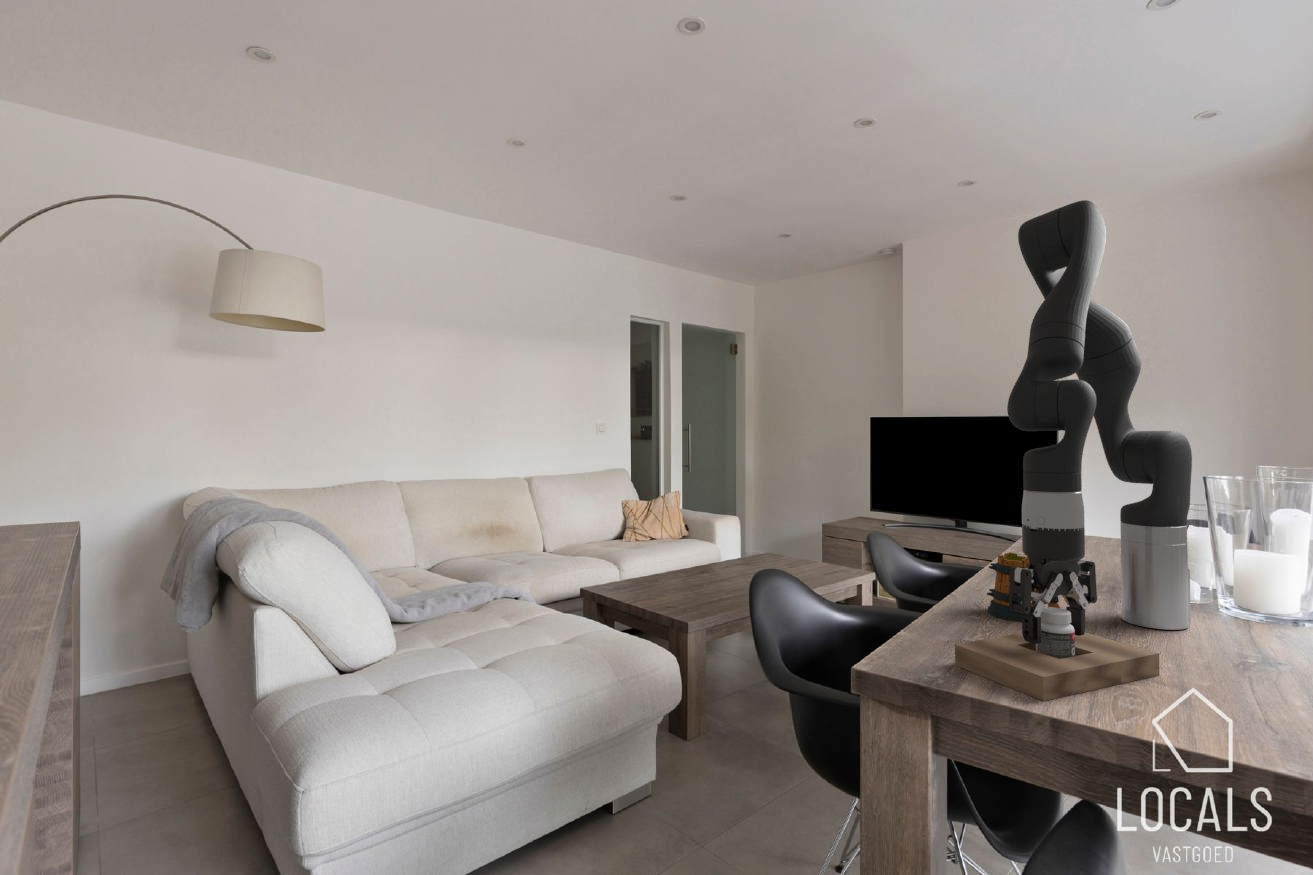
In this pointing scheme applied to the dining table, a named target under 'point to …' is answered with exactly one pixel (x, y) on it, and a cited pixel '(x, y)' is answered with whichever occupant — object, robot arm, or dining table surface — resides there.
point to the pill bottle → (1056, 633)
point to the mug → (1002, 585)
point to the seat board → (1056, 665)
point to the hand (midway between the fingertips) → (1054, 638)
